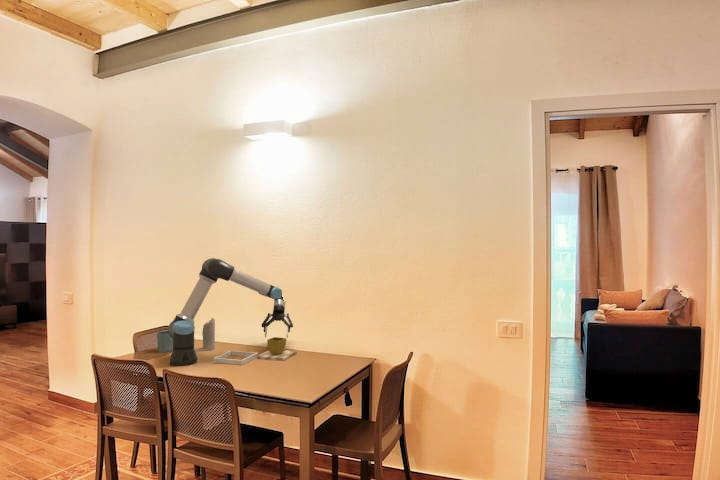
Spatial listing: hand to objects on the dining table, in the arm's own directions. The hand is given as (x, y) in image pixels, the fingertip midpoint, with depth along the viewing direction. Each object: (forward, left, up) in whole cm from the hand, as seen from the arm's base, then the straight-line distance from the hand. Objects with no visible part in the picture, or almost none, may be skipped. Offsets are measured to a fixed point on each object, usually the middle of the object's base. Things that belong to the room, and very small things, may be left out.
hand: (276, 336), depth 282 cm
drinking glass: (-71, -15, -10) cm, 73 cm away
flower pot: (+5, -10, -8) cm, 14 cm away
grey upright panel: (-49, -6, -10) cm, 50 cm away
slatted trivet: (+5, -9, -10) cm, 15 cm away
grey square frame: (-15, -23, -10) cm, 29 cm away
